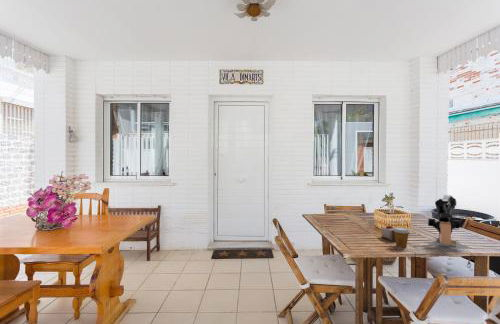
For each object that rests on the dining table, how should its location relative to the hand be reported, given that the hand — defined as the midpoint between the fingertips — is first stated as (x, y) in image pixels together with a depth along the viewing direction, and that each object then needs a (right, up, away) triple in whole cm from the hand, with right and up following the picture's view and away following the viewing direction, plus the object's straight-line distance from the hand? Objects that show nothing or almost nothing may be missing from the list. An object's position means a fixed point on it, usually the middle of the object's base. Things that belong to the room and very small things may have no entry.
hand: (445, 233), depth 198 cm
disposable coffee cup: (-28, -9, +3) cm, 30 cm away
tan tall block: (+1, -6, +1) cm, 7 cm away
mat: (+3, -9, +3) cm, 10 cm away
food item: (-28, -9, +21) cm, 36 cm away
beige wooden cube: (+7, -9, +2) cm, 12 cm away
